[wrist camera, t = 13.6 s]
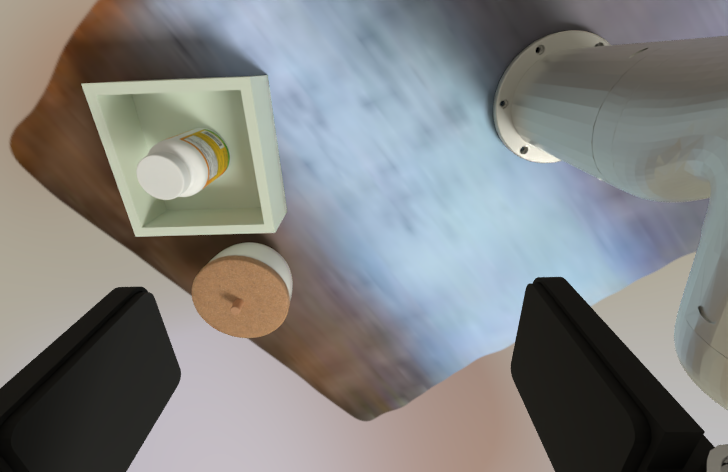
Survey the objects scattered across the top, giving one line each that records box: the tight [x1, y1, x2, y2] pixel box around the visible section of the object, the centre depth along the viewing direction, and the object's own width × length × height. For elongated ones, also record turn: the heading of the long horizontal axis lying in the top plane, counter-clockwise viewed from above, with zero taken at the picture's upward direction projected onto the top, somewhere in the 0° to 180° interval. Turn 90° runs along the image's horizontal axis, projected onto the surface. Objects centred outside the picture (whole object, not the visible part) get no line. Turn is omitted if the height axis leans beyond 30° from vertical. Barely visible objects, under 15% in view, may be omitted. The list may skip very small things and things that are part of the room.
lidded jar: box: [192, 242, 293, 338], centre depth 42 cm, size 11×11×9 cm
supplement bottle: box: [136, 128, 231, 200], centre depth 34 cm, size 5×5×10 cm
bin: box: [81, 75, 287, 237], centre depth 37 cm, size 15×15×6 cm
